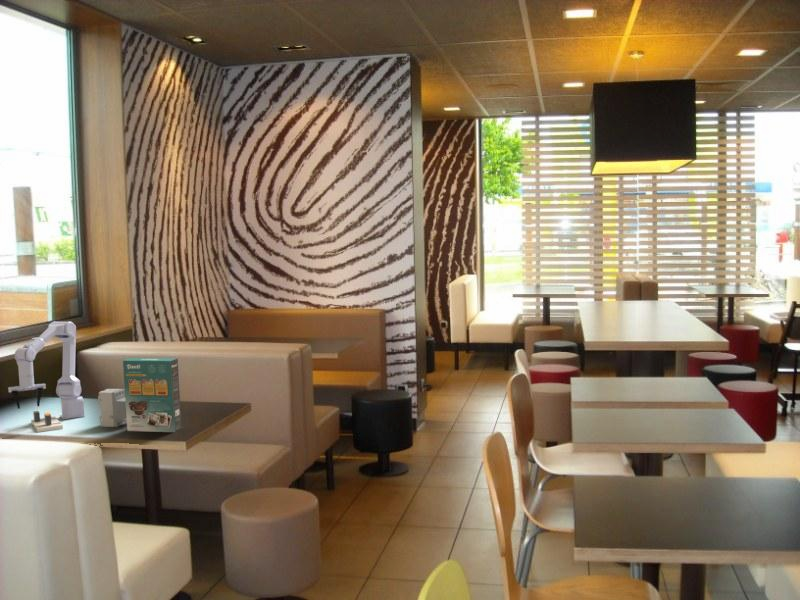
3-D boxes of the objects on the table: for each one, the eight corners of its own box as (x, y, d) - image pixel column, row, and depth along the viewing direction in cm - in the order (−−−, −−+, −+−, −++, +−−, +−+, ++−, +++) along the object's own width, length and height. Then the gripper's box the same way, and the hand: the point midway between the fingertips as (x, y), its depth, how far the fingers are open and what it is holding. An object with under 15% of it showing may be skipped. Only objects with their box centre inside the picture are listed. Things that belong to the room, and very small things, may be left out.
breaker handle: (49, 422, 371) (49, 412, 370) (51, 424, 367) (50, 414, 367) (45, 423, 370) (44, 413, 369) (46, 425, 366) (45, 414, 366)
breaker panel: (55, 419, 384) (54, 407, 383) (62, 428, 367) (61, 416, 366) (31, 423, 379) (30, 411, 378) (37, 432, 362) (36, 419, 361)
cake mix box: (181, 428, 360) (177, 358, 357) (174, 432, 354) (170, 360, 351) (134, 427, 365) (130, 358, 362) (127, 430, 359) (122, 360, 356)
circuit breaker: (130, 427, 366) (128, 392, 364) (100, 426, 369) (97, 392, 367) (139, 422, 373) (137, 389, 372) (109, 422, 376) (107, 388, 374)
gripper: (8, 378, 355) (10, 410, 357) (45, 375, 362) (47, 406, 363) (7, 376, 362) (9, 407, 363) (44, 372, 368) (46, 403, 370)
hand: (28, 407), depth 364 cm, fingers open, 7 cm apart
